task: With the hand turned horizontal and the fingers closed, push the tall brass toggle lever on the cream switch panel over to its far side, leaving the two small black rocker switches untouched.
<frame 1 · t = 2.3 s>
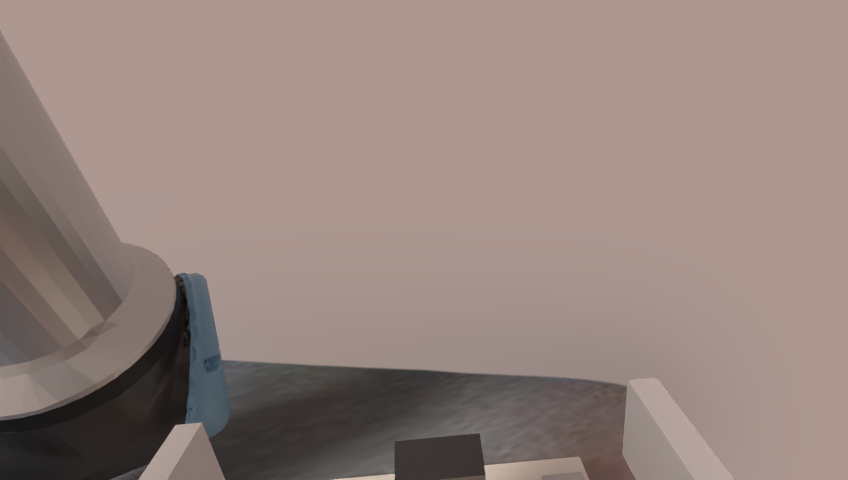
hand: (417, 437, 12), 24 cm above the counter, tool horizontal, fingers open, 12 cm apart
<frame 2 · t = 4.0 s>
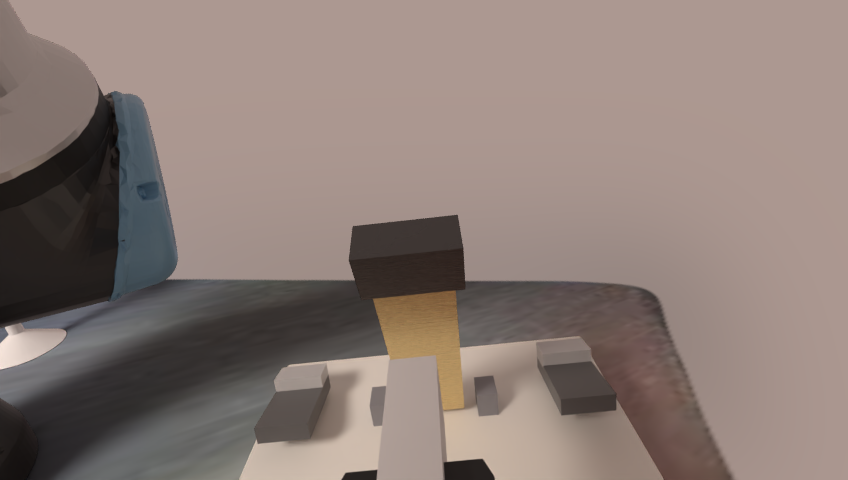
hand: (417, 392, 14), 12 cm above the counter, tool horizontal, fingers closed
champagne flute: (26, 349, 43), on the counter
brass lever: (423, 339, 22), point 9 cm above the counter, hinge at -20.0°
rocker b: (295, 400, 26), point 4 cm above the counter, hinge at 10.0°
rocker a: (572, 373, 26), point 4 cm above the counter, hinge at 10.0°
switch panel: (438, 434, 27), on the counter
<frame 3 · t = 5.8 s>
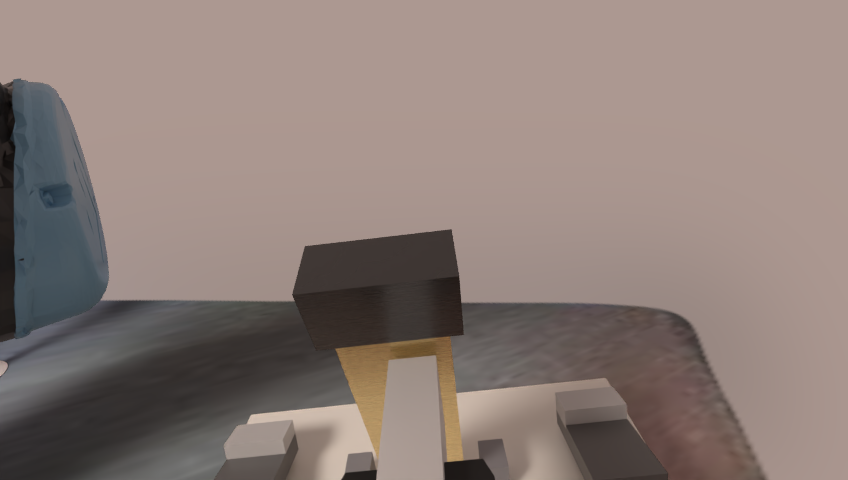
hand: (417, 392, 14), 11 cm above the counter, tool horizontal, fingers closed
brass lever: (409, 398, 16), point 9 cm above the counter, hinge at -17.0°, touching gripper
rocker b: (248, 472, 21), point 4 cm above the counter, hinge at 10.0°
rocker a: (604, 437, 20), point 4 cm above the counter, hinge at 10.0°
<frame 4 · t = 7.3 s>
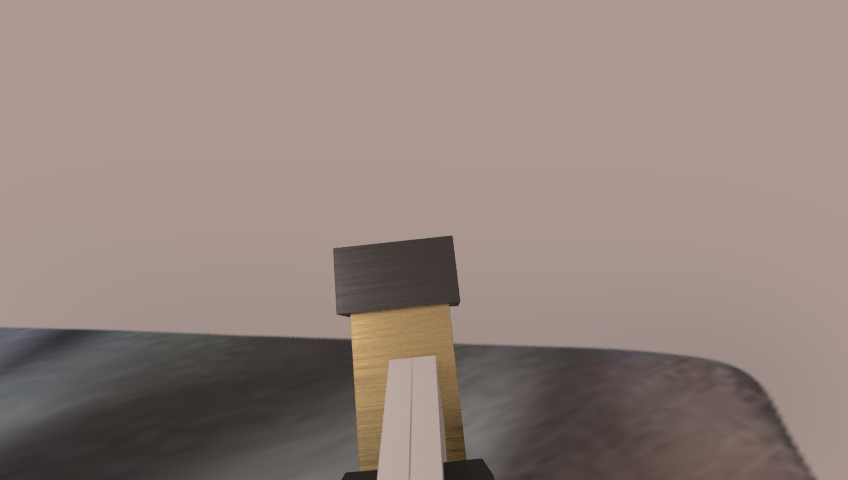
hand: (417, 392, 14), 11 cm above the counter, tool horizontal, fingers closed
brass lever: (412, 445, 15), point 8 cm above the counter, hinge at 35.8°, touching gripper
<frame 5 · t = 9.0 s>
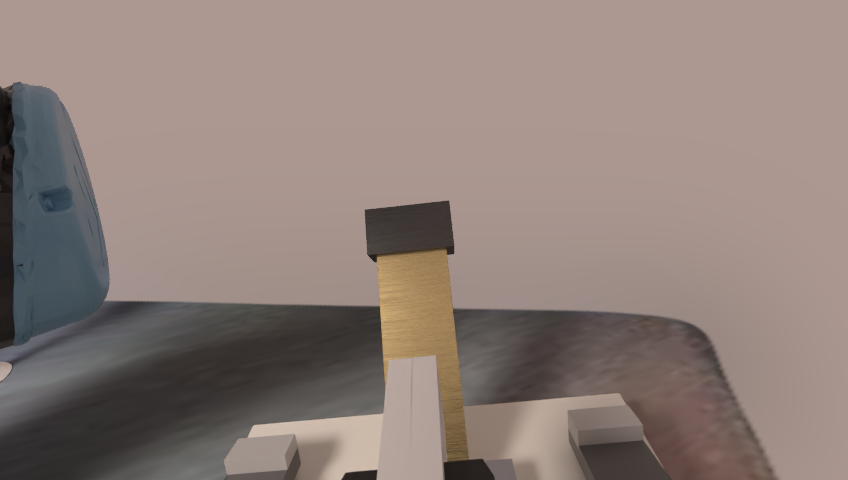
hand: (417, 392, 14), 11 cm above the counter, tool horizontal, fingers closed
brass lever: (420, 347, 21), point 8 cm above the counter, hinge at 36.3°
rocker a: (619, 460, 19), point 4 cm above the counter, hinge at 10.0°
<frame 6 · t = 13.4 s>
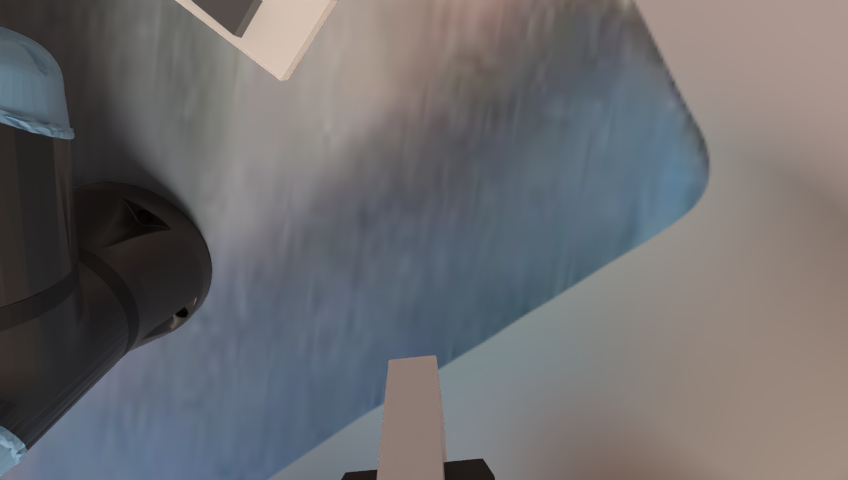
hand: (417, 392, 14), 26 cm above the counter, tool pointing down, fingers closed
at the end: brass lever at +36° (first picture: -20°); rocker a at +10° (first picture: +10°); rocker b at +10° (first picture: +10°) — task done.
